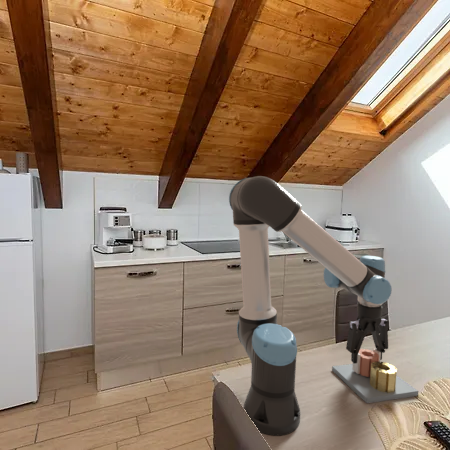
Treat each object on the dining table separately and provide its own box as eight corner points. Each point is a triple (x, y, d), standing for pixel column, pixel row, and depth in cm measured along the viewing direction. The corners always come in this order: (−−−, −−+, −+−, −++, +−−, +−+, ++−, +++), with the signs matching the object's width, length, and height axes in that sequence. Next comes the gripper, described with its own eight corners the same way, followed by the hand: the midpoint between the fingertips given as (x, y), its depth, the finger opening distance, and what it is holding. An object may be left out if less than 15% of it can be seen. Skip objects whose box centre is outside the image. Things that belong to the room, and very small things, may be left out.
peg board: (366, 403, 93) (367, 381, 92) (331, 370, 110) (333, 352, 110) (418, 395, 97) (419, 375, 96) (376, 365, 114) (378, 347, 114)
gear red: (350, 367, 109) (351, 350, 109) (368, 364, 111) (369, 348, 110) (364, 378, 102) (365, 360, 102) (382, 375, 104) (383, 358, 104)
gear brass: (380, 393, 95) (382, 374, 94) (365, 380, 102) (366, 362, 101) (400, 391, 97) (402, 372, 96) (384, 378, 103) (385, 360, 103)
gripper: (350, 309, 99) (346, 380, 101) (404, 305, 103) (399, 373, 106) (336, 301, 106) (333, 367, 108) (387, 298, 111) (383, 361, 113)
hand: (365, 370), depth 107 cm, fingers closed on gear red, 7 cm apart
